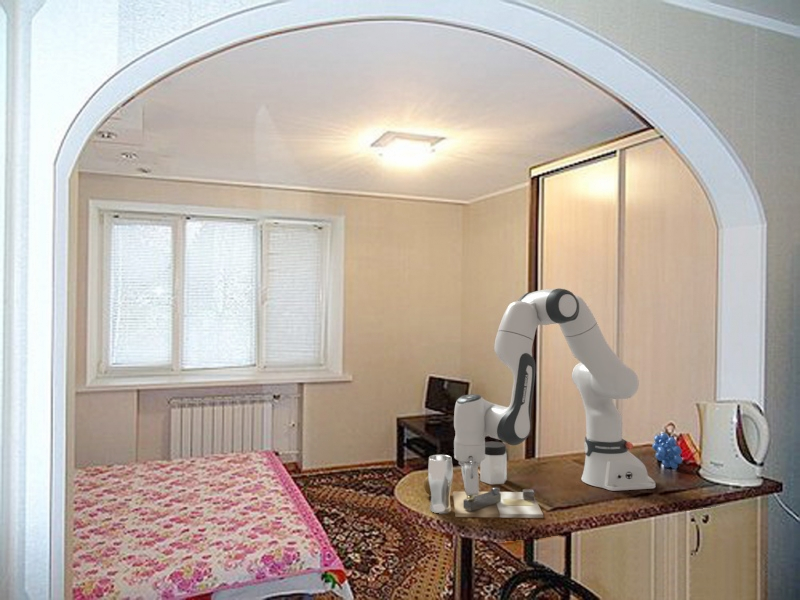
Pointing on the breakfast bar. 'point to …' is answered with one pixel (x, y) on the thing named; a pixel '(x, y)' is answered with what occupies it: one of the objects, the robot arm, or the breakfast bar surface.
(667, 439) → the grapes
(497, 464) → the jar
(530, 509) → the door board
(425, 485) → the onion
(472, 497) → the bar
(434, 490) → the beer glass
